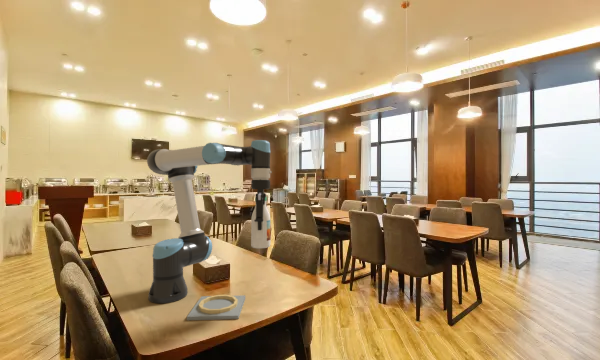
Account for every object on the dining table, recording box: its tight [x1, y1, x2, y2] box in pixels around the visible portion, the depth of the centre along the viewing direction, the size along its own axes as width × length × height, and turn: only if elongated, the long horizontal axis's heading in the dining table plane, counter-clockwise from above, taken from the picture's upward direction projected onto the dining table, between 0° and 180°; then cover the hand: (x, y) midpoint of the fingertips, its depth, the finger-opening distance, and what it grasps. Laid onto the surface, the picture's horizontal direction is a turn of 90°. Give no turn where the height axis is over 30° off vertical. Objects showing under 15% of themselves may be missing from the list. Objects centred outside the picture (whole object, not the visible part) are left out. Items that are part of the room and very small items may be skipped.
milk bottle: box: [250, 196, 272, 249], centre depth 117 cm, size 8×8×20 cm
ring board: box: [186, 294, 246, 321], centre depth 112 cm, size 18×18×2 cm
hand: (260, 236), depth 117 cm, fingers closed on milk bottle, 8 cm apart
